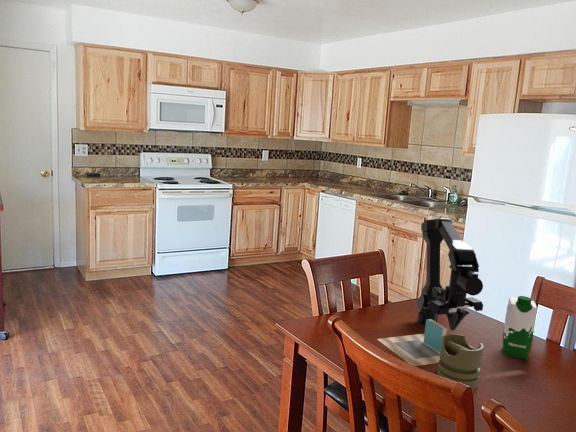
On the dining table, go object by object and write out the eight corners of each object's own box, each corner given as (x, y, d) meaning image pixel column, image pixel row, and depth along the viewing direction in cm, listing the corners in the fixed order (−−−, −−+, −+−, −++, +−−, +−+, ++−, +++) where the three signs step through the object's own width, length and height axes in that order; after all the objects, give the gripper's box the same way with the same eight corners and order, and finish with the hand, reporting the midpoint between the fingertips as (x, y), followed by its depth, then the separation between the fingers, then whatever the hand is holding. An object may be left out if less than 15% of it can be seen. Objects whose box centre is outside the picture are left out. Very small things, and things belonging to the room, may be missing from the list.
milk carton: (501, 356, 165) (510, 297, 161) (499, 345, 173) (508, 289, 170) (530, 361, 162) (540, 302, 159) (527, 350, 171) (536, 294, 167)
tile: (428, 341, 169) (431, 318, 168) (444, 351, 162) (447, 328, 161) (423, 342, 169) (426, 319, 167) (439, 352, 161) (442, 328, 160)
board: (429, 336, 177) (430, 332, 177) (470, 361, 159) (470, 358, 159) (376, 342, 169) (376, 339, 168) (412, 370, 151) (413, 366, 150)
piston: (466, 353, 136) (433, 337, 145) (460, 394, 138) (428, 376, 147) (491, 346, 142) (458, 331, 152) (485, 385, 144) (453, 368, 154)
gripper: (463, 276, 176) (457, 318, 178) (419, 279, 168) (414, 323, 171) (487, 286, 165) (480, 331, 168) (441, 289, 158) (435, 336, 161)
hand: (452, 330), depth 167 cm, fingers closed
